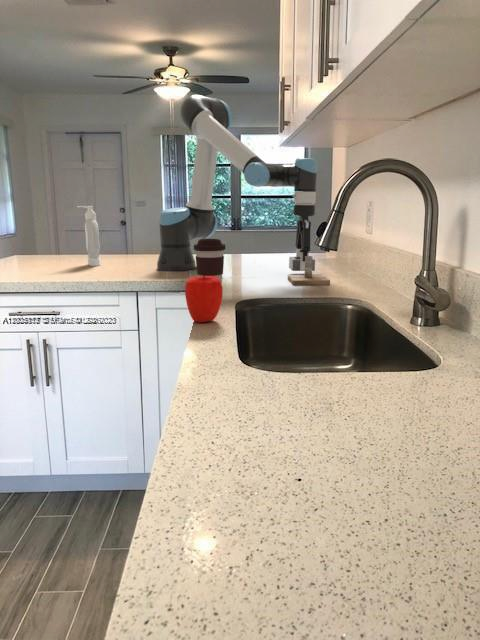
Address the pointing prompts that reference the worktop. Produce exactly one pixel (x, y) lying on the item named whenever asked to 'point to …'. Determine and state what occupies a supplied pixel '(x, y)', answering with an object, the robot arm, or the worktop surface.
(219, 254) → the coffee cup
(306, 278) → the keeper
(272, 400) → the worktop surface
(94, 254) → the soap bottle
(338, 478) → the worktop surface
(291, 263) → the gray square block
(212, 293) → the apple
